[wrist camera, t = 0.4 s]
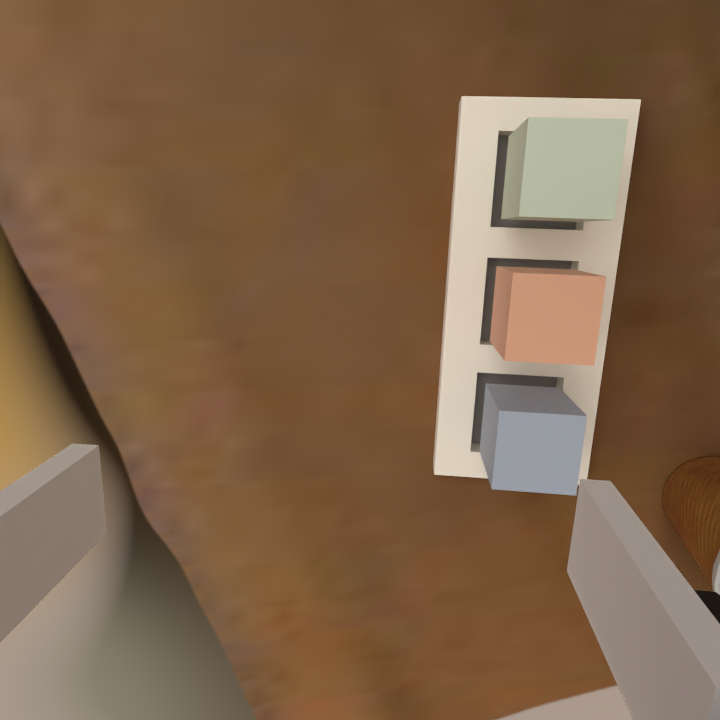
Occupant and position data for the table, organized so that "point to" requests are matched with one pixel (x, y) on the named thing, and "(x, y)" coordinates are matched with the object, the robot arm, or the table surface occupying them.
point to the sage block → (564, 169)
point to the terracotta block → (547, 315)
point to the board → (513, 249)
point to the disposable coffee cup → (697, 512)
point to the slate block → (531, 439)
